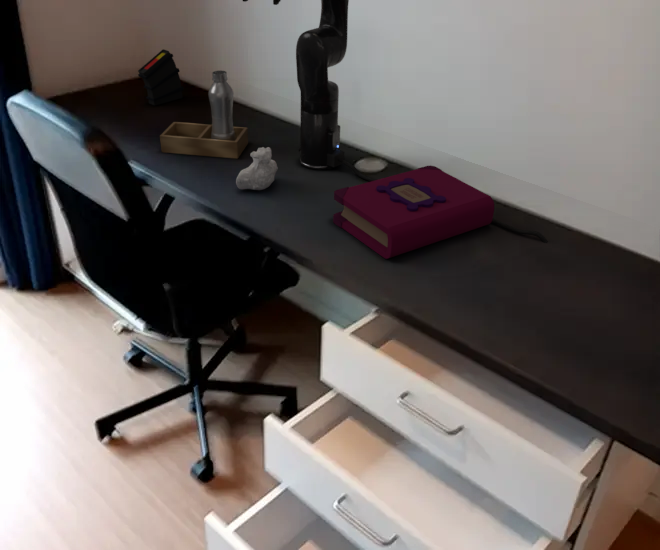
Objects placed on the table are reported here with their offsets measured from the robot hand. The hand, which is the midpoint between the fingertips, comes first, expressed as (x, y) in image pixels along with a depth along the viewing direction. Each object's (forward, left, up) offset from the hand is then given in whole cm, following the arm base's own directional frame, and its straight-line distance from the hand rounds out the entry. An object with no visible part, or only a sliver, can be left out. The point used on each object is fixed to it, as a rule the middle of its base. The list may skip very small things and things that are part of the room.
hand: (260, 2), depth 184 cm
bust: (-14, +35, -34) cm, 51 cm away
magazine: (+38, -10, -34) cm, 52 cm away
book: (-52, +40, -34) cm, 74 cm away
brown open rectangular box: (+9, +18, -34) cm, 40 cm away
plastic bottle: (+4, +17, -34) cm, 38 cm away
